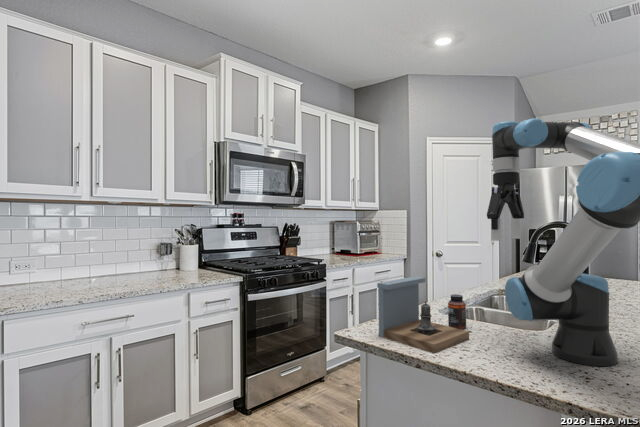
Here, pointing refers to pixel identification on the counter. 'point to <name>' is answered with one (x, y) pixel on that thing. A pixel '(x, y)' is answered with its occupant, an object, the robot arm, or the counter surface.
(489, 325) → the counter surface
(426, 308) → the dark grey chess piece
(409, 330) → the socket block
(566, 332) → the robot arm
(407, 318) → the grey upright panel
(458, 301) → the supplement bottle
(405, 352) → the counter surface
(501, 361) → the counter surface
